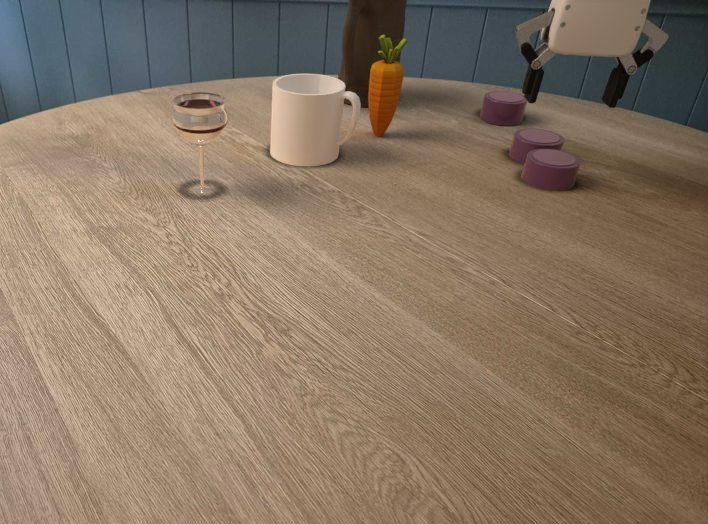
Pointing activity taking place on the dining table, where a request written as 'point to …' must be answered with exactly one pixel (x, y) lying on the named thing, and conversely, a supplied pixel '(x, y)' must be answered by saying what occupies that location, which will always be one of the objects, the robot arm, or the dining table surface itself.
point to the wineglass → (200, 122)
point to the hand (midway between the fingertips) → (568, 102)
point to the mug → (309, 118)
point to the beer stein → (368, 40)
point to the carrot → (385, 86)
